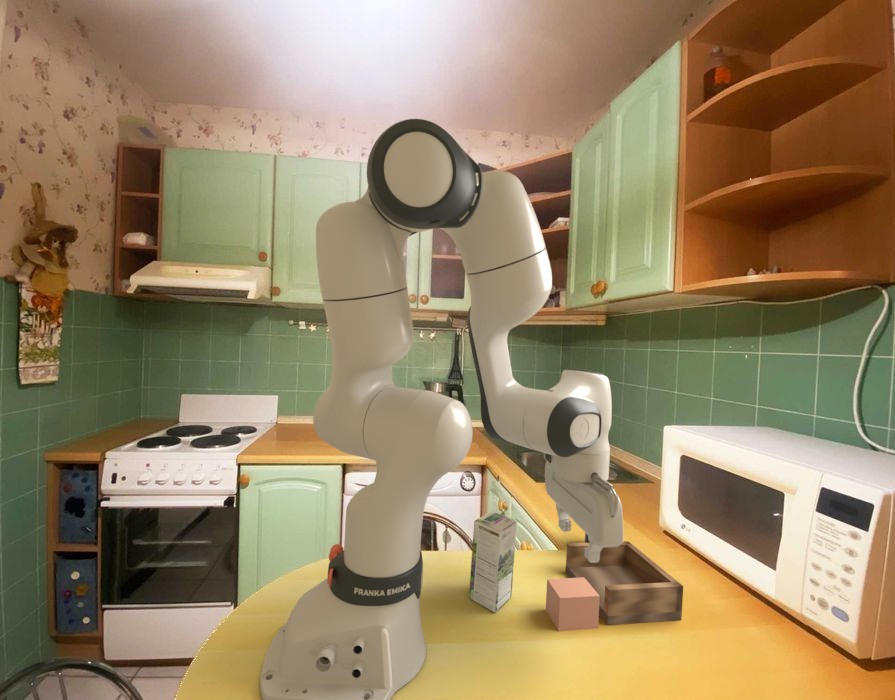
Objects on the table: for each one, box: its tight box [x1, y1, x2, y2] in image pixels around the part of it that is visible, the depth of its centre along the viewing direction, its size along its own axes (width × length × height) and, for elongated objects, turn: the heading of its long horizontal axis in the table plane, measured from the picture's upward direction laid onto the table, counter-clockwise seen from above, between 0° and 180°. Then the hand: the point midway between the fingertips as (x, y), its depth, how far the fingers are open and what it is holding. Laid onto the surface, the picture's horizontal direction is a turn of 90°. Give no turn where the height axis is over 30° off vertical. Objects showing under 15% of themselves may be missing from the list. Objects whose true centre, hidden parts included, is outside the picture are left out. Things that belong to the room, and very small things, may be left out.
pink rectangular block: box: [545, 577, 600, 632], centre depth 64 cm, size 7×5×6 cm
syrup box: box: [468, 511, 517, 613], centre depth 68 cm, size 6×6×14 cm
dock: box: [565, 540, 684, 626], centre depth 71 cm, size 14×15×6 cm
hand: (577, 543), depth 64 cm, fingers open, 8 cm apart
